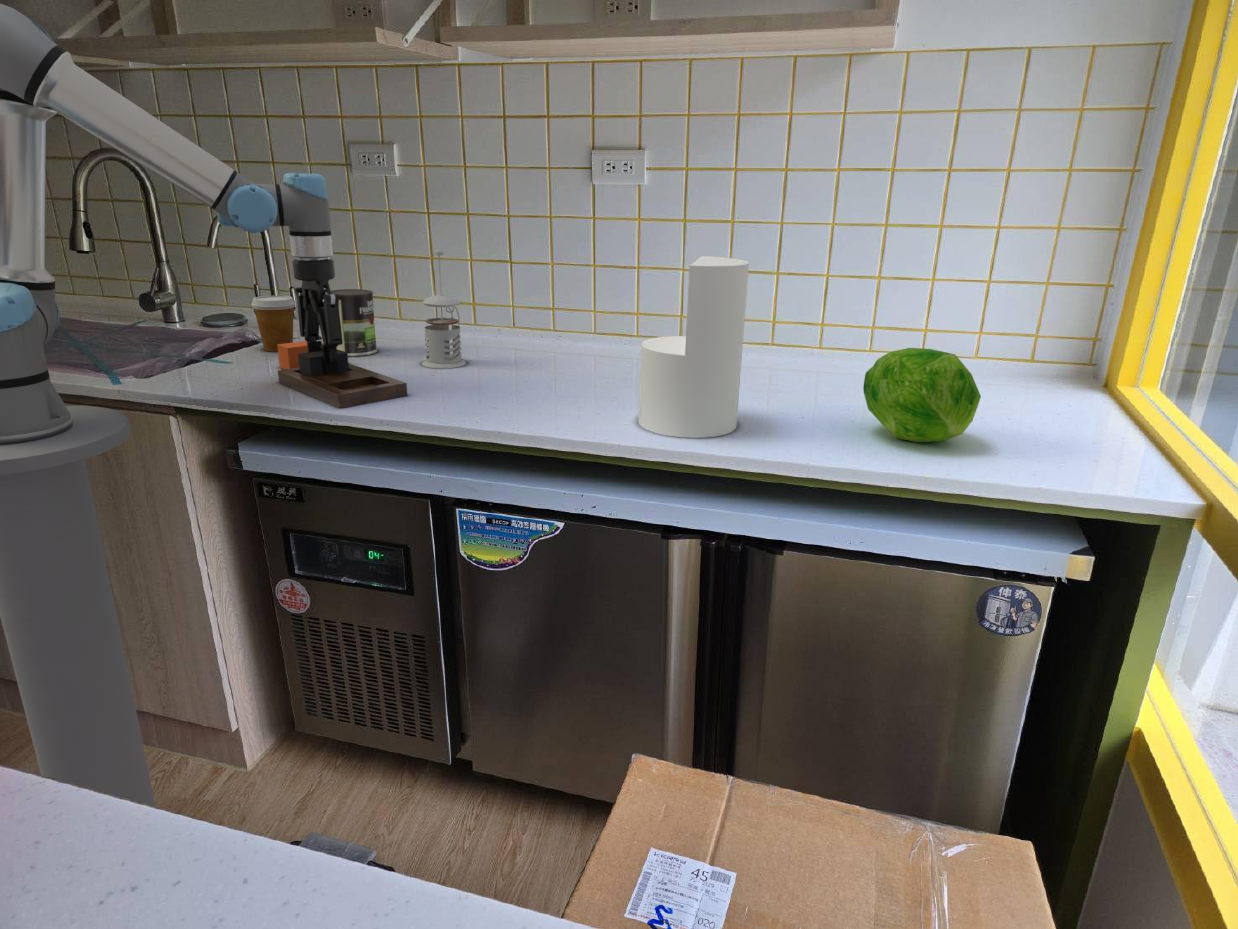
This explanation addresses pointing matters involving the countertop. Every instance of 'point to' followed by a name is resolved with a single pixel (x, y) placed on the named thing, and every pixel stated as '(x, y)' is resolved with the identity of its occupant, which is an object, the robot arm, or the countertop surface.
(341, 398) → the brown wooden slotted tray
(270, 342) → the disposable coffee cup
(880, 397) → the lettuce
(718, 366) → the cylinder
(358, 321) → the coffee can
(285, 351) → the orange block
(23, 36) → the robot arm
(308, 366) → the black rectangular block
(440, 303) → the french press
